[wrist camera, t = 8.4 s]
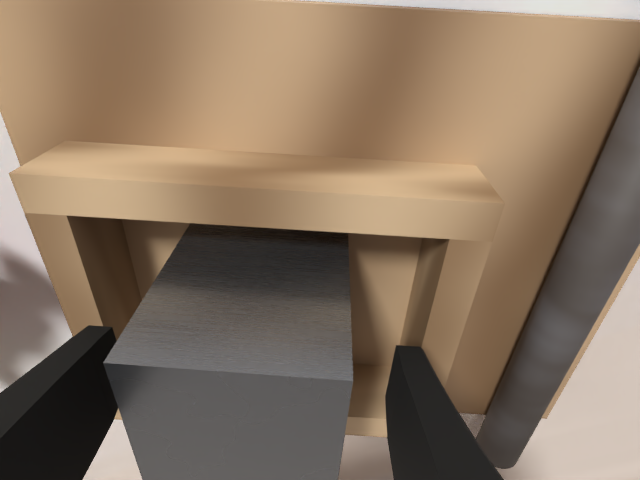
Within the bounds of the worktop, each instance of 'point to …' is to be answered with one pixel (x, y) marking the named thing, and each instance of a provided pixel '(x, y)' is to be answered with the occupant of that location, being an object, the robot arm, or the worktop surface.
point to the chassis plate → (345, 171)
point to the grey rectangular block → (240, 358)
